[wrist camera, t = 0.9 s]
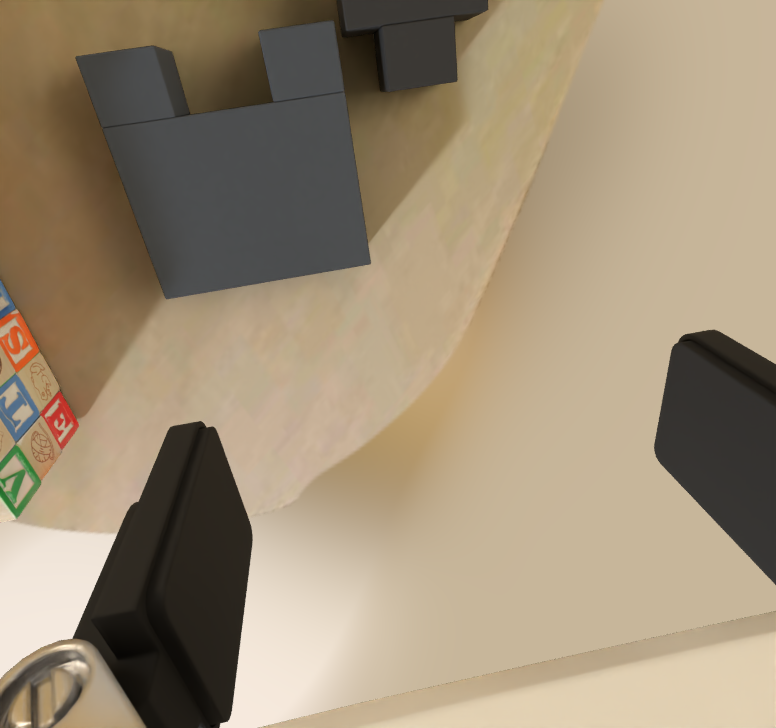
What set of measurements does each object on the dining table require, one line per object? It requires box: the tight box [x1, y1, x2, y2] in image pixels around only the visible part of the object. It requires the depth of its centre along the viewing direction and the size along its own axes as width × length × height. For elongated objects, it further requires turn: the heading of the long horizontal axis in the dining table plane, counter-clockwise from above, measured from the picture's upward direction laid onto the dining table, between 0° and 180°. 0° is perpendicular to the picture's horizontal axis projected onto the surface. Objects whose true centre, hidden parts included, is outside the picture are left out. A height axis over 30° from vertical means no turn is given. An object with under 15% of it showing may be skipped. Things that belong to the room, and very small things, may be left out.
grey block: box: [76, 20, 371, 299], centre depth 28 cm, size 12×12×4 cm
